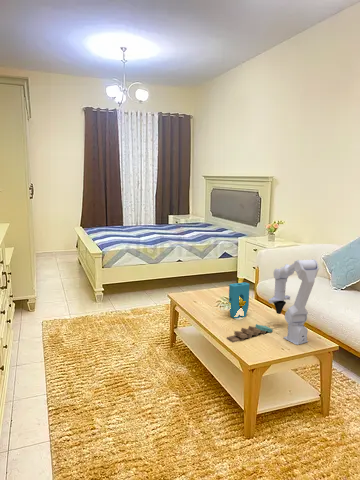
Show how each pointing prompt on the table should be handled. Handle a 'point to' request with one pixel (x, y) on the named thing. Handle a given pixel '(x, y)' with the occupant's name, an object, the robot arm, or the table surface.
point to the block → (234, 294)
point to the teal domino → (263, 328)
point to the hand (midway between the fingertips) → (278, 313)
